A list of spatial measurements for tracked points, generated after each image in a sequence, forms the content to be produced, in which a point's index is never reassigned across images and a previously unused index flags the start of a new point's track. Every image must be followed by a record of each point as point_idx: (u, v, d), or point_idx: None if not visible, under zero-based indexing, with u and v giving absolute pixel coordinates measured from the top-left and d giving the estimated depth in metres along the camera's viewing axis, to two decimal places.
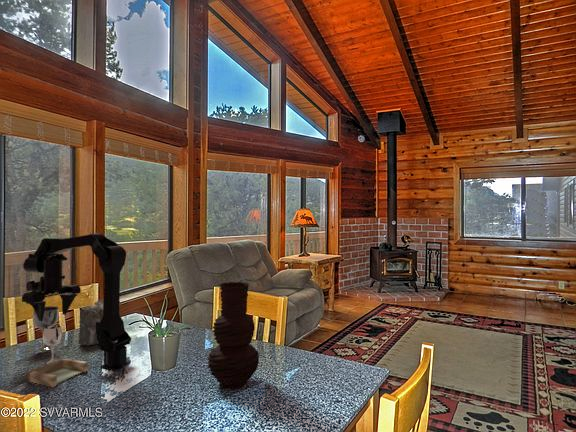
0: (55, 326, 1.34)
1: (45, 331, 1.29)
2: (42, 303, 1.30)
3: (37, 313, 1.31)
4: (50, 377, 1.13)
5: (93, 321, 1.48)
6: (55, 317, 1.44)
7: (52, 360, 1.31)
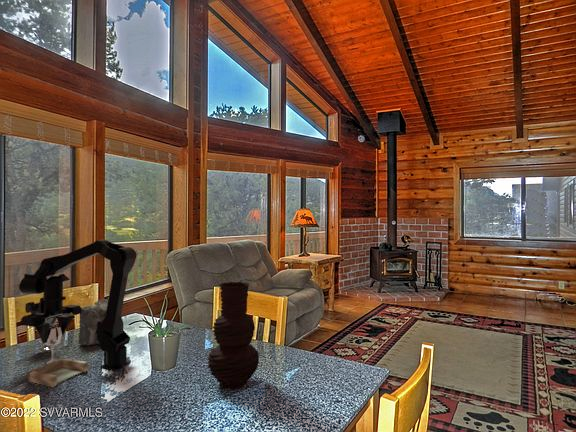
0: (55, 326, 1.34)
1: None
2: (46, 325, 1.26)
3: (41, 335, 1.28)
4: (50, 377, 1.13)
5: (93, 321, 1.48)
6: (55, 317, 1.44)
7: (52, 360, 1.31)
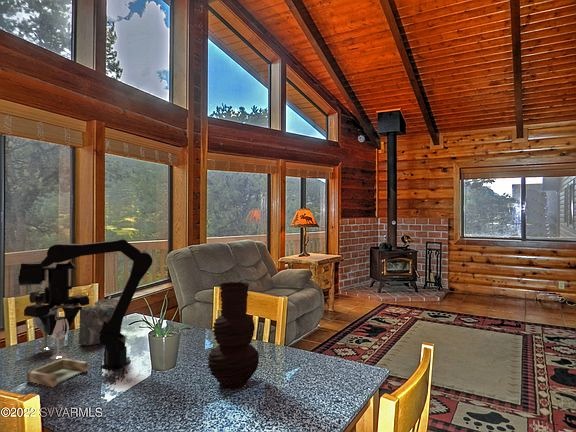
0: (61, 318, 1.25)
1: None
2: (51, 316, 1.17)
3: (46, 327, 1.19)
4: (50, 377, 1.13)
5: (93, 321, 1.48)
6: None
7: (58, 354, 1.22)
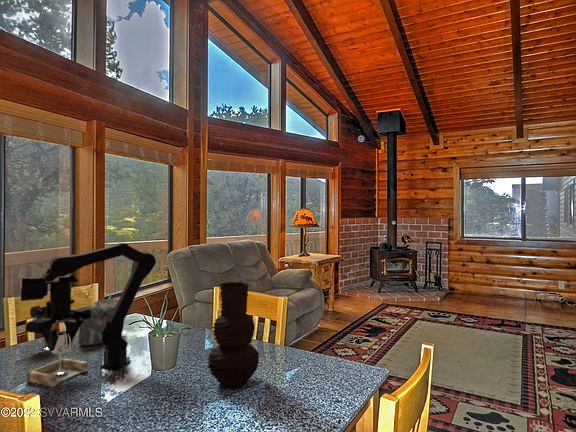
0: (63, 332, 1.22)
1: None
2: (53, 332, 1.15)
3: (47, 342, 1.16)
4: (50, 377, 1.13)
5: (93, 321, 1.48)
6: None
7: (60, 369, 1.19)
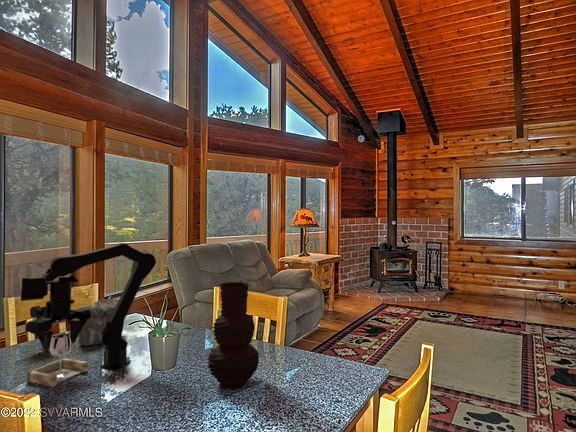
0: (63, 335, 1.22)
1: (53, 340, 1.18)
2: (49, 333, 1.13)
3: (43, 344, 1.15)
4: (50, 377, 1.13)
5: (93, 321, 1.48)
6: None
7: (60, 372, 1.19)
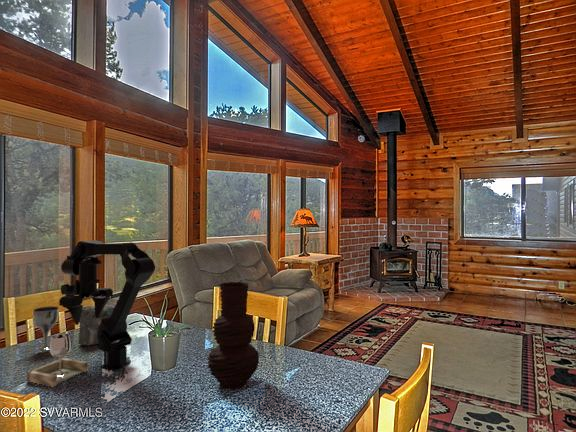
0: (63, 335, 1.22)
1: (52, 340, 1.18)
2: (80, 307, 1.28)
3: (73, 317, 1.30)
4: (50, 377, 1.13)
5: (93, 321, 1.48)
6: (55, 317, 1.44)
7: (60, 372, 1.19)
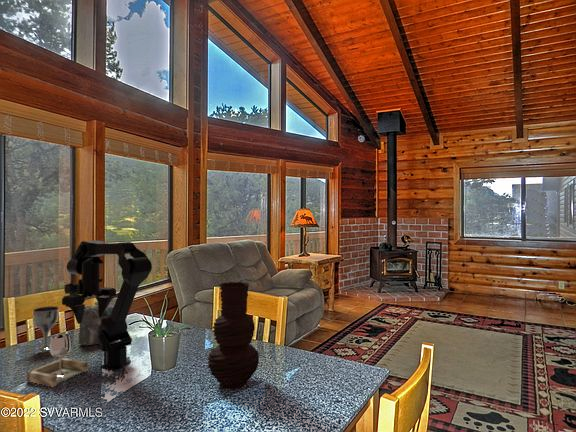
0: (63, 335, 1.22)
1: (52, 340, 1.18)
2: (82, 306, 1.30)
3: (76, 316, 1.31)
4: (50, 377, 1.13)
5: (93, 321, 1.48)
6: (55, 317, 1.44)
7: (60, 372, 1.19)
